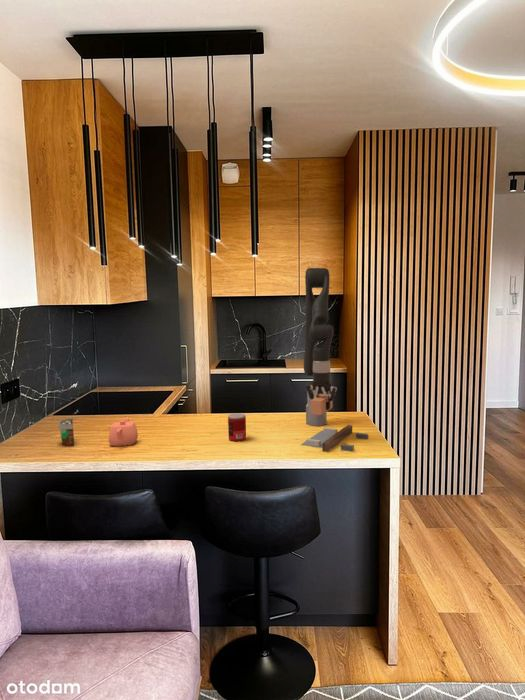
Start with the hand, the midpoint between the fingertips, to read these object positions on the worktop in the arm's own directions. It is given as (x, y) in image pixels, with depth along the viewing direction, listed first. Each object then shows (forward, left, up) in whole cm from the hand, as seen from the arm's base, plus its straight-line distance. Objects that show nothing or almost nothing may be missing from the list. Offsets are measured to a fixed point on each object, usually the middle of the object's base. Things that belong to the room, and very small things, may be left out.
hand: (322, 409), depth 224 cm
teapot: (-77, -42, -14) cm, 89 cm away
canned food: (-34, -16, -14) cm, 40 cm away
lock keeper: (0, 0, -14) cm, 14 cm away
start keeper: (+15, 0, -14) cm, 20 cm away
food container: (-100, -54, -14) cm, 115 cm away
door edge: (+7, 0, -14) cm, 15 cm away
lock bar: (0, 0, -1) cm, 1 cm away
